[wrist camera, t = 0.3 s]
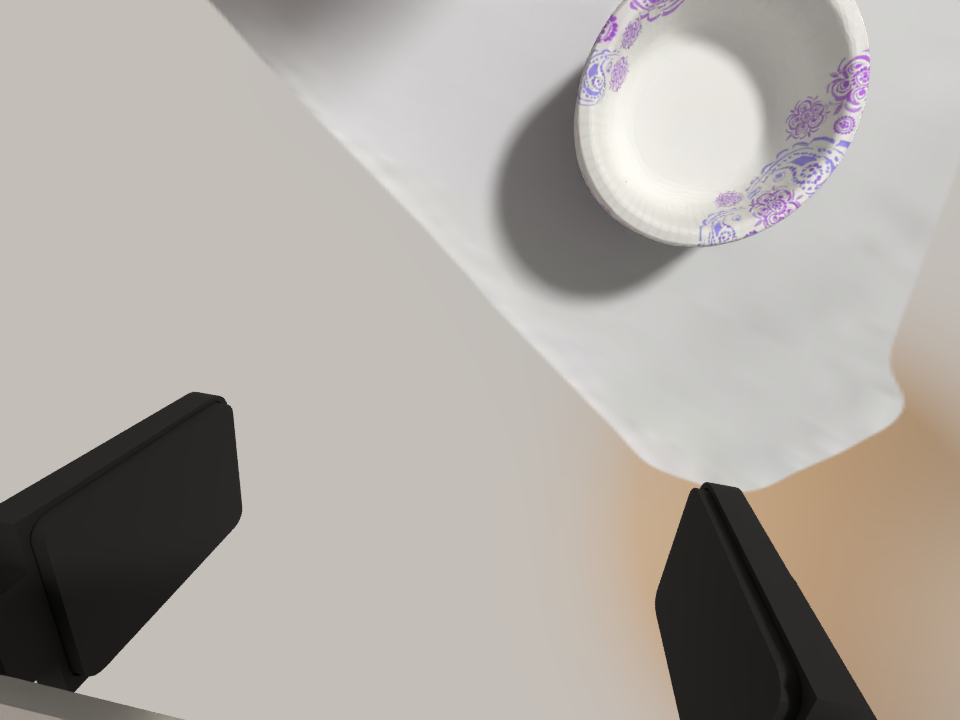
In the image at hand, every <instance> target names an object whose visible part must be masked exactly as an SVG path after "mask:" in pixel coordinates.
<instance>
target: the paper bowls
mask: <svg viewBox="0 0 960 720" xmlns="http://www.w3.org/2000/svg"><path fill="white" fill-rule="evenodd" d="M869 75H870V53H869V44H868V38H867V33H866V29H865V25H864V22H863V19H862V16H861V14H860V11H859V9H858V6H857V5H856V3H855V1H854V0H623V1H622V2H621V4H620V5H619V6H618V7H617V9H616V10H615V11H614V12H613V14H612V15H611V16H610V18H609V19H608V21H607V22H606V24H605V26H604V27H603V28H602V30H601V32H600V34H599V36H598V37H597V39H596V41H595V44H594V45H593V47H592V49H591V52H590V54H589V57H588V59H587V62H586V64H585V67H584V69H583V72H582V75H581V81H580V84H579V88H578V94H577V100H576V106H575V114H574V143H575V150H576V156H577V160H578V164H579V167H580V170H581V173H582V176H583V178H584V180H585V182H586V184H587V186H588V188H589V190H590V192H591V193H592V195H593V196H594V197H595V199H596V200H597V201H598V203H599V204H600V205H601V207H602V208H603V209H604V210H605V211H606V212H607V213H608V214H609V215H610V216H611V217H613V218H614V219H615V220H616V221H618V222H619V223H620V224H622V225H623V226H625V227H626V228H628V229H630V230H632V231H634V232H635V233H637V234H640V235H642V236H644V237H646V238H649V239H652V240H655V241H657V242H661V243H664V244H668V245H674V246H683V247H709V246H716V245H721V244H726V243H730V242H734V241H738V240H741V239H744V238H747V237H749V236H752V235H754V234H757V233H759V232H761V231H763V230H765V229H767V228H769V227H771V226H773V225H774V224H776V223H778V222H779V221H781V220H783V219H784V218H785V217H787V216H789V215H790V214H791V213H793V212H794V211H795V210H796V209H797V208H799V207H800V206H801V205H802V204H804V203H805V202H806V201H807V200H808V199H809V198H810V197H811V196H812V195H813V194H814V193H815V192H816V191H817V190H818V189H819V188H820V187H821V186H822V185H823V183H824V182H825V181H826V180H827V178H828V177H829V176H830V175H831V173H832V172H833V171H834V169H835V168H836V166H837V165H838V164H839V162H840V161H841V160H842V157H843V156H844V154H845V152H846V150H847V148H848V147H849V145H850V143H851V141H852V139H853V137H854V134H855V132H856V130H857V127H858V125H859V122H860V119H861V116H862V113H863V109H864V106H865V102H866V96H867V91H868V87H869V86H868V85H869Z"/></svg>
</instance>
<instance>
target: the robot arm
mask: <svg viewBox="0 0 960 720" xmlns="http://www.w3.org/2000/svg"><path fill="white" fill-rule="evenodd" d="M241 514H242V500H241V490H240V480H239V471H238V460H237V449H236V439H235V429H234V419H233V411H232V408H231V406H229V405H227V402H226V401H225V399H224V398H223V397H221V396H216V395H211V394H205V393H200V392H192V393H189V394H187V395H185V396H183V397H182V398H180V399H179V400H177V401H175V402H173V403H172V404H170V405H168V406H166V407H165V408H163V409H161V410H160V411H158V412H156V413H154V414H153V415H151V416H149V417H148V418H146V419H144V420H142V421H141V422H139V423H137V424H136V425H134V426H132V427H131V428H129V429H127V430H125V431H124V432H122V433H120V434H118V435H117V436H115V437H113V438H112V439H110V440H108V441H106V442H105V443H103V444H101V445H100V446H98V447H96V448H95V449H93V450H91V451H90V452H88V453H86V454H84V455H82V456H81V457H79V458H78V459H76V460H74V461H72V462H70V463H69V464H67V465H66V466H64V467H62V468H60V469H58V470H57V471H55V472H53V473H52V474H50V475H48V476H46V477H45V478H43V479H41V480H40V481H38V482H36V483H35V484H33V485H31V486H29V487H28V488H26V489H24V490H23V491H21V492H19V493H17V494H16V495H14V496H12V497H10V498H9V499H7V500H5V501H4V502H2V503H0V720H183V719H179V718H175V717H171V716H167V715H163V714H159V713H155V712H150V711H147V710H143V709H138V708H135V707H130V706H127V705H122V704H118V703H114V702H110V701H106V700H102V699H98V698H94V697H90V696H86V695H82V694H77V693H74V692H75V691H76V690H77V689H78V688H79V686H81V684H82V683H83V682H84V681H85V680H86V679H87V678H88V677H89V676H94V675H96V674H98V673H99V672H101V671H102V670H103V669H104V668H105V667H106V666H107V665H108V664H109V663H110V662H111V661H112V660H113V658H114V657H115V656H116V655H117V654H118V653H119V652H120V651H121V650H122V649H123V648H124V646H125V645H126V644H127V643H128V642H129V641H130V640H131V639H132V638H133V637H134V636H135V635H136V634H137V633H138V631H139V630H140V629H141V628H142V627H143V626H144V625H145V623H147V622H148V621H149V620H150V618H151V617H152V616H153V615H154V614H155V613H156V612H157V611H158V610H159V608H161V607H162V605H163V604H164V603H165V602H166V601H167V600H168V599H169V598H170V597H171V596H172V595H173V594H174V592H175V591H176V590H177V589H178V588H179V587H180V586H181V585H182V584H183V583H184V582H185V580H187V578H188V577H189V576H190V575H191V574H192V573H193V572H194V571H195V570H196V569H197V568H198V567H199V565H200V564H201V563H202V562H203V561H204V560H205V559H206V558H207V557H208V556H209V555H210V554H211V552H212V551H213V550H214V549H215V548H216V547H217V546H218V545H219V544H220V543H221V542H222V541H223V539H224V538H225V537H226V536H227V535H228V534H229V533H230V532H231V531H232V529H234V528H235V526H236V525H237V524H238V522H239V520H240V517H241ZM655 610H656V616H657V620H658V624H659V629H660V633H661V638H662V642H663V647H664V651H665V655H666V660H667V664H668V669H669V673H670V677H671V682H672V686H673V691H674V695H675V700H676V704H677V709H678V713H679V718H680V720H877V719H876V717H875V715H874V714H873V712H872V710H871V709H870V707H869V705H868V704H867V702H866V700H865V698H864V697H863V695H862V693H861V692H860V690H859V688H858V687H857V685H856V683H855V682H854V680H853V678H852V676H851V675H850V673H849V671H848V670H847V668H846V666H845V665H844V663H843V661H842V659H841V658H840V656H839V654H838V653H837V651H836V649H835V648H834V646H833V644H832V643H831V641H830V639H829V638H828V636H827V634H826V632H825V631H824V629H823V627H822V626H821V624H820V622H819V620H818V619H817V617H816V615H815V614H814V612H813V610H812V609H811V608H810V605H809V603H808V602H807V600H806V599H805V597H804V595H803V593H802V592H801V590H800V588H799V587H798V585H797V583H796V581H795V580H794V579H793V577H792V576H791V575H790V573H789V571H788V570H787V568H786V566H785V564H784V563H783V561H782V559H781V558H780V556H779V554H778V552H777V551H776V549H775V548H774V546H773V544H772V542H771V541H770V539H769V537H768V536H767V534H766V532H765V531H764V529H763V527H762V525H761V524H760V522H759V520H758V518H757V517H756V515H755V513H754V512H753V510H752V508H751V507H750V505H749V503H748V501H747V500H746V498H745V496H744V495H743V493H742V491H741V490H740V489H739V488H736V487H731V486H726V485H720V484H714V483H709V482H706V483H704V484H703V485H702V486H701V488H700V489H698V488H693V489H692V490H691V491H690V494H689V497H688V500H687V502H686V506H685V509H684V511H683V515H682V518H681V520H680V523H679V527H678V529H677V533H676V536H675V538H674V541H673V545H672V548H671V550H670V554H669V556H668V559H667V562H666V565H665V569H664V571H663V574H662V577H661V580H660V583H659V586H658V590H657V594H656V599H655ZM35 681H37V683H38V684H37V683H34V682H35Z"/></svg>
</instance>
